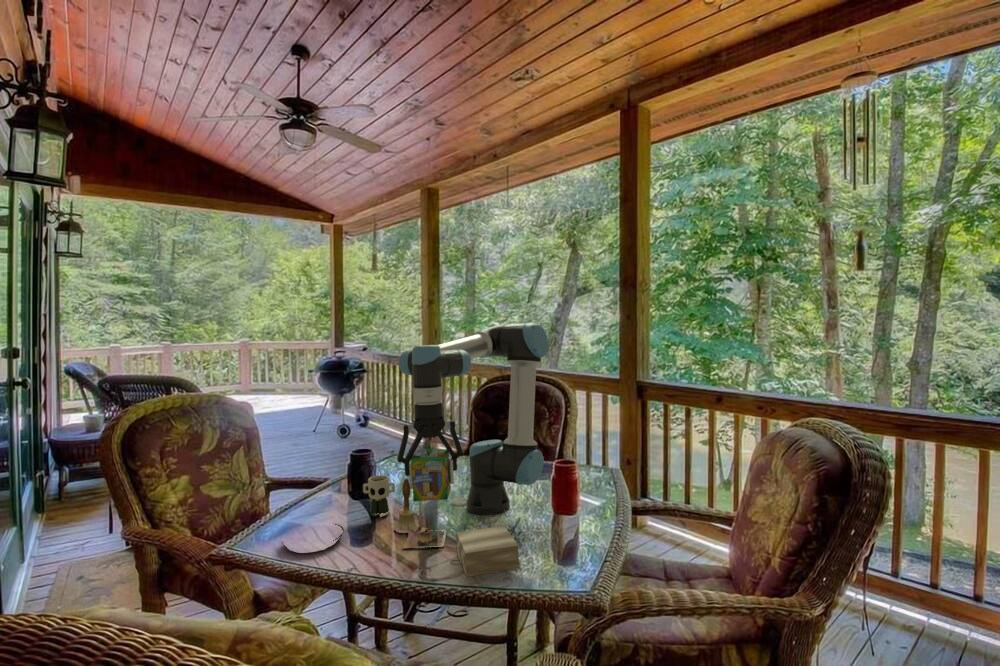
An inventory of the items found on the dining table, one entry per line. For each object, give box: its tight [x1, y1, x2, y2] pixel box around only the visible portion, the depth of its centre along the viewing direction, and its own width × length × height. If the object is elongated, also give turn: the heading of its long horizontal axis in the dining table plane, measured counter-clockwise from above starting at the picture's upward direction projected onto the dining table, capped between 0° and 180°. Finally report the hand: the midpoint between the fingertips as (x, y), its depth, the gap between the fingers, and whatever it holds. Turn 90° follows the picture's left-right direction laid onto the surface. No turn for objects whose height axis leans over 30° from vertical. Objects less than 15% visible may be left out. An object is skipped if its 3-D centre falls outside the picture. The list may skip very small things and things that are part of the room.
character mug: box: [362, 475, 396, 514], centre depth 174 cm, size 11×7×13 cm, turn 90°
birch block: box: [455, 525, 520, 578], centre depth 138 cm, size 14×14×6 cm
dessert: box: [418, 526, 448, 549], centre depth 153 cm, size 12×12×5 cm
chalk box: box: [410, 438, 452, 502], centre depth 137 cm, size 9×9×15 cm
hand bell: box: [395, 478, 420, 530], centre depth 162 cm, size 8×8×16 cm
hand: (431, 484), depth 137 cm, fingers closed on chalk box, 10 cm apart
